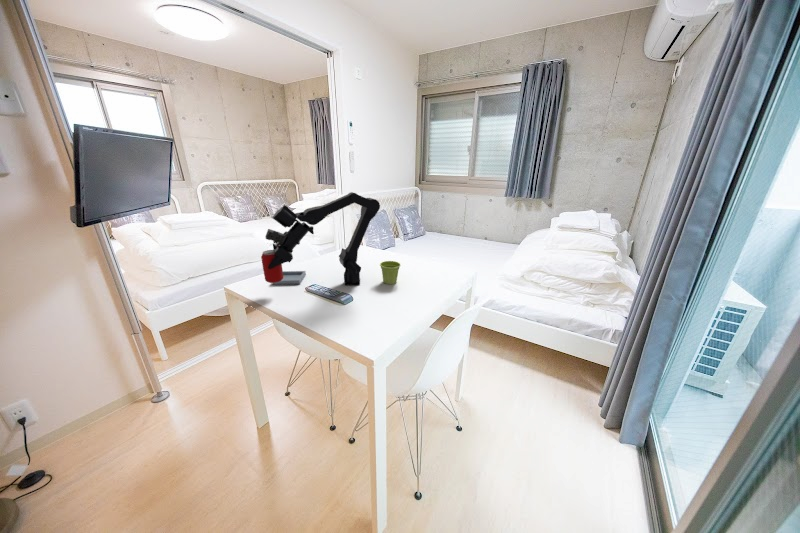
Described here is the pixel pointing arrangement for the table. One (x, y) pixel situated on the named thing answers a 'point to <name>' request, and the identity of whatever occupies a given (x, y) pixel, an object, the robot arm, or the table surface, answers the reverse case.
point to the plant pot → (390, 271)
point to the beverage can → (274, 273)
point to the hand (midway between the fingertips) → (268, 265)
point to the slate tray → (291, 278)
